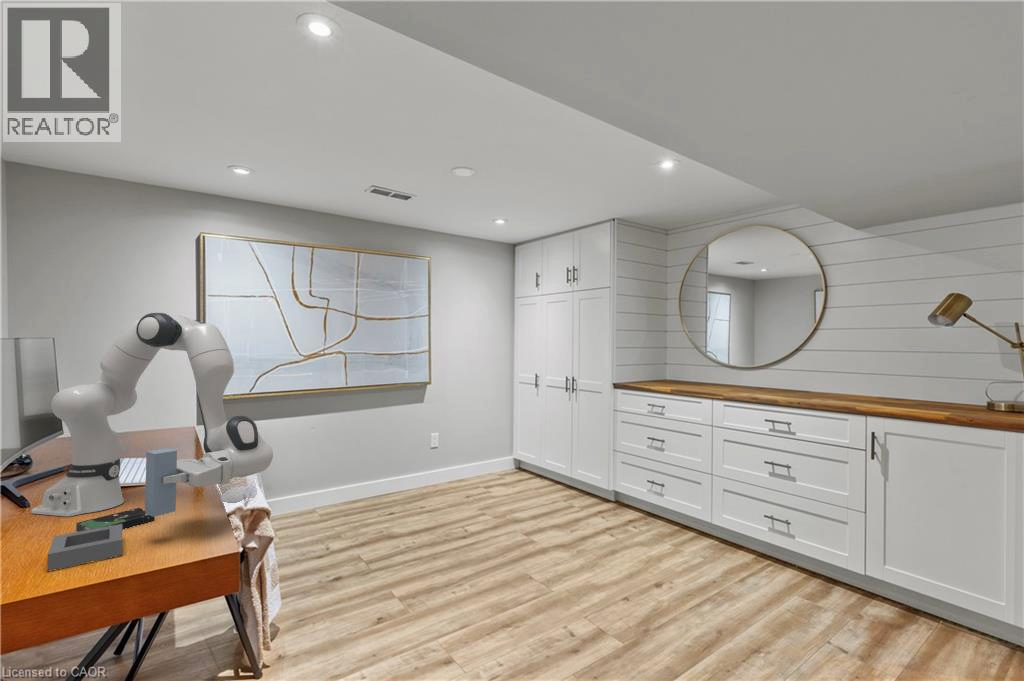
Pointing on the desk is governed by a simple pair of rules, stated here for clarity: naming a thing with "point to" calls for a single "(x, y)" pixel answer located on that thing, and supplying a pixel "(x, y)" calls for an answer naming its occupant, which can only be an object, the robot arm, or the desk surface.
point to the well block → (85, 547)
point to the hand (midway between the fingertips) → (157, 478)
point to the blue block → (158, 493)
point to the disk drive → (117, 520)
